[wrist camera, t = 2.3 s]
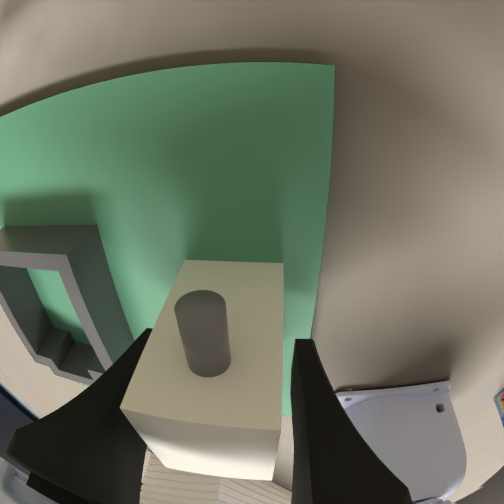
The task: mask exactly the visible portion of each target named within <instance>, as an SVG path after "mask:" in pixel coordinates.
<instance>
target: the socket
mask: <svg viewBox="0 0 504 504" xmlns="http://www.w3.org/2000/svg"><path fill="white" fill-rule="evenodd" d="M27 268H30V269H39V270H49V271H59V274H60V277H61V279H62V282H63V284H64V287H65V289H66V292H67V294H68V296H69V299H70V301H71V303H72V306H73V308H74V310H75V312H76V314H77V317H78V319H79V321H80V323H81V325H82V327H83V329H84V331H85V333H86V335H87V337H88V339H89V341H90V343H91V345H92V346H91V345H86V344H82V343H77V342H75V341H74V339H73V337H72V335H71V333H70V331H66V330H62V329H57V328H54V326H53V324H52V322H51V320H50V318H49V316H48V314H47V312H46V310H45V308H44V306H43V304H42V302H41V300H40V298H39V296H38V294H37V291H36V289H35V287H34V285H33V282H32V280H31V278H30V275H29V273H28V271H27ZM0 304H1V306H2V308H3V310H4V311H5V313H6V315H7V317H8V319H9V320H10V322H11V324H12V326H13V327H14V329H15V331H16V332H17V334H18V336H19V337H20V339H21V341H22V342H23V344H24V345H25V347H26V348H27V350H28V352H29V353H30V355H31V356H32V358H33V359H34V361H35V362H37V363H40V364H43V365H45V366H48V367H50V368H51V370H52V371H53V372H54V374H55V375H57V376H60V377H63V378H67V379H70V380H73V381H76V382H79V383H83V384H86V385H91V384H92V383H94V382H95V381H96V380H97V379H98V378H99V377H100V376H101V375H102V374H103V373H104V372H105V371H106V370H107V369H108V368H109V367H110V366H111V365H112V364H113V363H114V362H115V361H116V360H117V359H118V358H119V357H120V356H121V355H122V354H123V353H124V352H125V351H126V350H127V349H128V348H129V347H130V345H131V344H132V343H133V342H134V338H133V335H132V333H131V330H130V328H129V325H128V322H127V320H126V317H125V314H124V311H123V308H122V306H121V303H120V300H119V297H118V294H117V291H116V288H115V285H114V281H113V278H112V275H111V272H110V269H109V265H108V262H107V258H106V255H105V251H104V248H103V244H102V240H101V236H100V232H99V229H98V225H44V226H10V227H3V228H2V229H0Z"/></svg>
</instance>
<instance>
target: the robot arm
mask: <svg viewBox="0 0 504 504" xmlns="http://www.w3.org/2000/svg"><path fill="white" fill-rule="evenodd" d="M152 329H153V328H146V329H145V330H144V331H143V332H142V334H141V335H140V336H139V337H138V338H137V339H136V340H135V341H134V342H133V343H132V344H131V345H130V347H129V348H128V349H127V350H126V351H125V352H124V353H123V354H122V355H121V356H120V357H119V358H118V359H117V360H116V361H115V362H114V363H113V364H112V365H111V366H110V367H109V368H108V369H107V370H106V371H105V372H104V373H103V374H102V375H101V376H100V377H99V378H98V379H97V380H96V381H95V382H94V383H92V384H91V385H90V386H89V387H88V388H87V389H85V390H84V391H83V392H82V393H80V394H79V395H78V396H76V397H75V398H74V399H72V400H71V401H69V402H68V403H66V404H65V405H63V406H62V407H60V408H59V409H57V410H56V411H54V412H52V413H50V414H49V415H47V416H45V417H43V418H41V419H39V420H37V421H35V422H33V423H31V424H28V425H26V426H24V427H21V428H19V429H17V430H16V431H15V433H14V435H13V437H12V440H11V442H10V444H9V446H8V448H7V451H6V453H7V455H8V456H9V457H11V458H12V459H13V460H15V461H16V462H17V463H19V464H20V465H22V466H23V467H25V468H26V469H28V470H29V471H31V473H30V475H29V476H27V475H26V474H24V473H22V472H21V471H19V470H18V469H16V468H15V467H14V466H12V465H11V464H9V463H8V462H6V461H5V460H4V459H2V458H1V457H0V504H139V503H140V488H141V479H142V471H143V465H144V459H145V453H146V448H147V444H146V443H145V441H144V440H143V439H142V438H141V436H140V435H139V434H138V432H137V431H136V430H135V428H134V427H133V426H132V424H131V423H130V422H129V420H128V419H127V417H126V416H125V415H124V413H123V412H122V410H121V409H120V406H121V403H122V401H123V398H124V396H125V393H126V391H127V388H128V386H129V383H130V381H131V378H132V376H133V374H134V371H135V369H136V366H137V364H138V362H139V359H140V357H141V355H142V352H143V350H144V348H145V345H146V343H147V341H148V339H149V336H150V334H151V332H152ZM451 386H452V384H451V381H442V382H436V383H430V384H423V385H415V386H407V387H398V388H389V389H377V390H364V391H345V392H338V393H336V394H335V392H334V390H333V388H332V386H331V384H330V381H329V379H328V377H327V375H326V373H325V371H324V368H323V366H322V363H321V361H320V358H319V355H318V352H317V349H316V346H315V342H314V340H312V339H295V345H294V352H293V360H292V367H291V389H290V397H291V410H292V424H293V437H294V465H293V483H292V497H291V504H455V503H453V502H451V501H450V500H446V501H444V502H443V500H442V498H445V497H447V496H449V495H451V494H452V493H454V492H455V491H456V490H457V489H458V488H459V486H460V485H461V483H462V481H463V479H464V476H465V471H466V451H465V446H464V442H463V439H462V435H461V432H460V428H459V425H458V421H457V418H456V415H455V412H454V409H453V405H452V402H451V399H450V396H449V393H448V391H449V389H450V388H451Z"/></svg>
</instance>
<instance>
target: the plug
mask: <svg viewBox="0 0 504 504" xmlns="http://www.w3.org/2000/svg"><path fill="white" fill-rule="evenodd" d="M283 311H284V273H283V263H263V262H234V261H207V260H185V261H184V263H183V265H182V267H181V269H180V271H179V273H178V276H177V278H176V280H175V282H174V284H173V286H172V288H171V290H170V292H169V295H168V297H167V299H166V301H165V303H164V305H163V307H162V310H161V312H160V314H159V316H158V318H157V321H156V323H155V325H154V327H153V329H152V332H151V334H150V336H149V339H148V341H147V343H146V345H145V348H144V350H143V352H142V355H141V357H140V359H139V362H138V364H137V366H136V369H135V371H134V374H133V376H132V378H131V381H130V383H129V386H128V388H127V391H126V393H125V396H124V398H123V401H122V403H121V406H120V409H121V410H122V412H123V413H124V415H125V416H126V417H127V419H128V420H129V422H130V423H131V424H132V426H133V427H134V428H135V430H136V431H137V432H138V434H139V435H140V436H141V438H142V439H143V440H144V441H145V443H146V444H147V445H148V446H149V448H150V449H151V450H152V451H153V453H154V454H155V455H156V456H157V457H158V459H159V460H160V461H161V462H162V463H163V464H164V466H165V467H166V468H171V469H176V470H181V471H186V472H192V473H198V474H205V475H212V476H219V477H228V478H238V479H251V480H270V481H272V477H273V472H274V467H275V461H276V456H277V450H278V444H279V439H280V433H281V415H282V381H283Z"/></svg>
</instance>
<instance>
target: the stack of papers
mask: <svg viewBox="0 0 504 504" xmlns="http://www.w3.org/2000/svg"><path fill="white" fill-rule="evenodd" d="M150 458H151V459H149V461H148V464H149V465H147V468H146V470H147V472H145V476H144V477H146V478H144V479H143V484H144V485H142V487H141V490H142V491H140V497H141V498H140V503H139V504H291V497H292V492H290V491H288V490H286V489H284V488H282V487H281V486H279V485H277V484H275V483H273V482H271V481H269V480H251V479H238V478H228V477H219V476H212V475H205V474H198V473H192V472H186V471H181V470H176V469H171V468H166V467H165V466H164V464H163V463H162V462H161V461H160V460H159V459H158V457H157V456H156V455H155V454H154V453H151V454H150Z"/></svg>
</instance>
